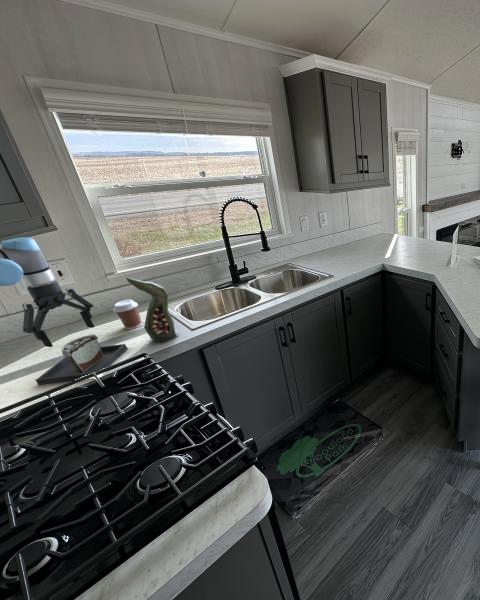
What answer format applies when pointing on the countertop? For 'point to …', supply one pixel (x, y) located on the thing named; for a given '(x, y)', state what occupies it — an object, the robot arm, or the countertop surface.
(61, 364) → the storage tray
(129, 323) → the coffee cup
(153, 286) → the tentacle
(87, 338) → the food container
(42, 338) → the robot arm
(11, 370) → the countertop surface
